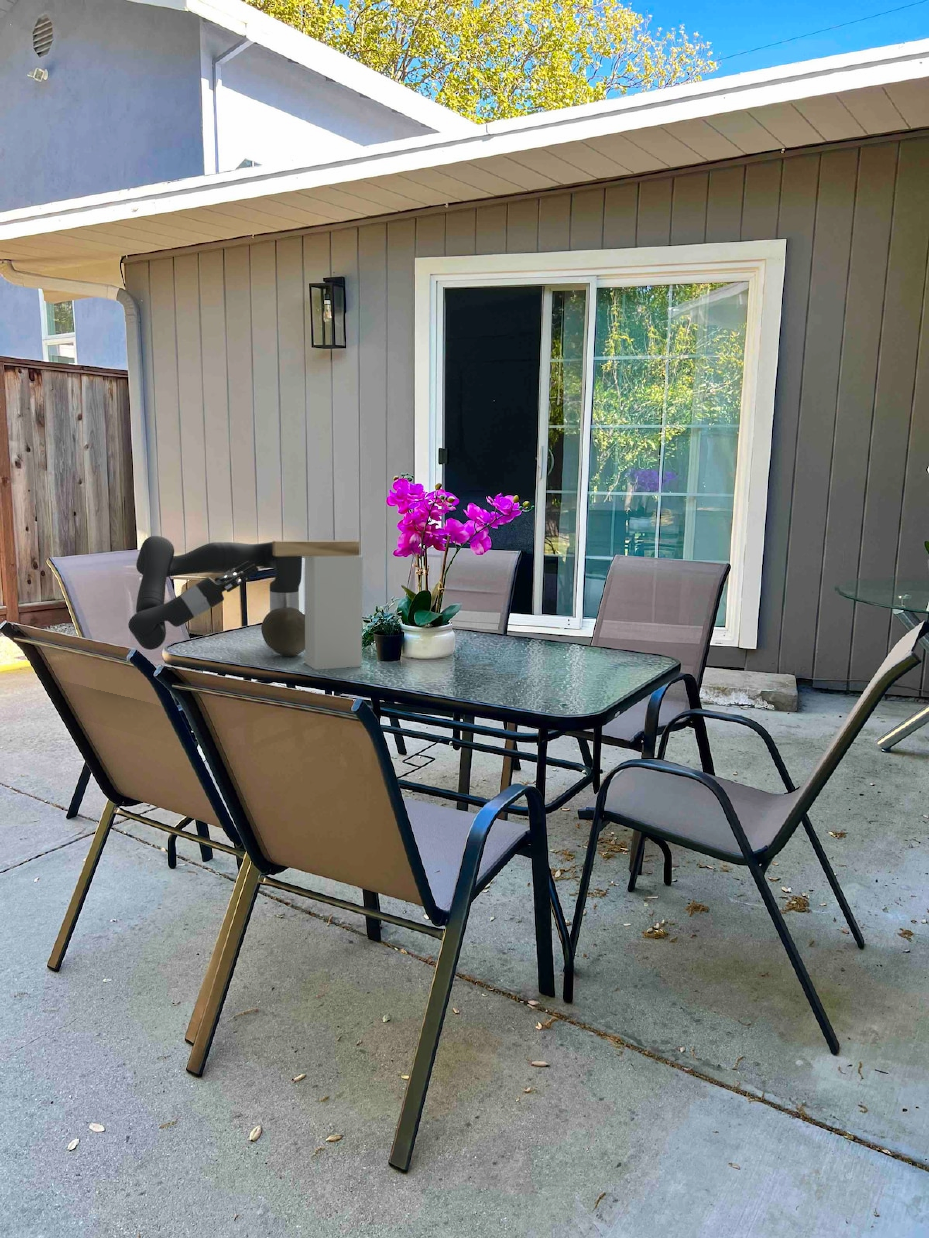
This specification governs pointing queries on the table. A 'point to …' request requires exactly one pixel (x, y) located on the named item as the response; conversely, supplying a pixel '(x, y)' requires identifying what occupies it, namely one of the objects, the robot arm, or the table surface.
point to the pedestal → (333, 611)
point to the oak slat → (315, 548)
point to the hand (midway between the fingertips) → (253, 565)
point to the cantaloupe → (284, 631)
